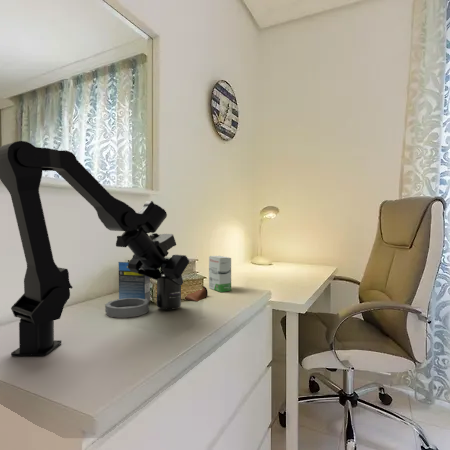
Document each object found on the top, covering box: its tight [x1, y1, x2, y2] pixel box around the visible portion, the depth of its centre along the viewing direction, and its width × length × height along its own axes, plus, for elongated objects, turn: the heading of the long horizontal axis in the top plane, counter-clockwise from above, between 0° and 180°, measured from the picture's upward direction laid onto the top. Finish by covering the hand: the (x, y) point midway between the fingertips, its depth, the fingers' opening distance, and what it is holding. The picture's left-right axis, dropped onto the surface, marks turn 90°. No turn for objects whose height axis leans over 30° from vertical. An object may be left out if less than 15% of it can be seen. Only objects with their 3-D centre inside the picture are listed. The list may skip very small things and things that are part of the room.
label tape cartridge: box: [118, 261, 151, 302], centre depth 101 cm, size 9×4×12 cm, turn 76°
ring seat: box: [104, 298, 150, 319], centre depth 90 cm, size 11×11×2 cm
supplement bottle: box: [156, 267, 182, 310], centre depth 93 cm, size 7×7×12 cm
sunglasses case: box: [185, 285, 208, 302], centre depth 108 cm, size 18×7×7 cm, turn 73°
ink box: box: [208, 255, 232, 293], centre depth 118 cm, size 9×5×12 cm, turn 30°
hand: (172, 282), depth 94 cm, fingers closed on supplement bottle, 7 cm apart
